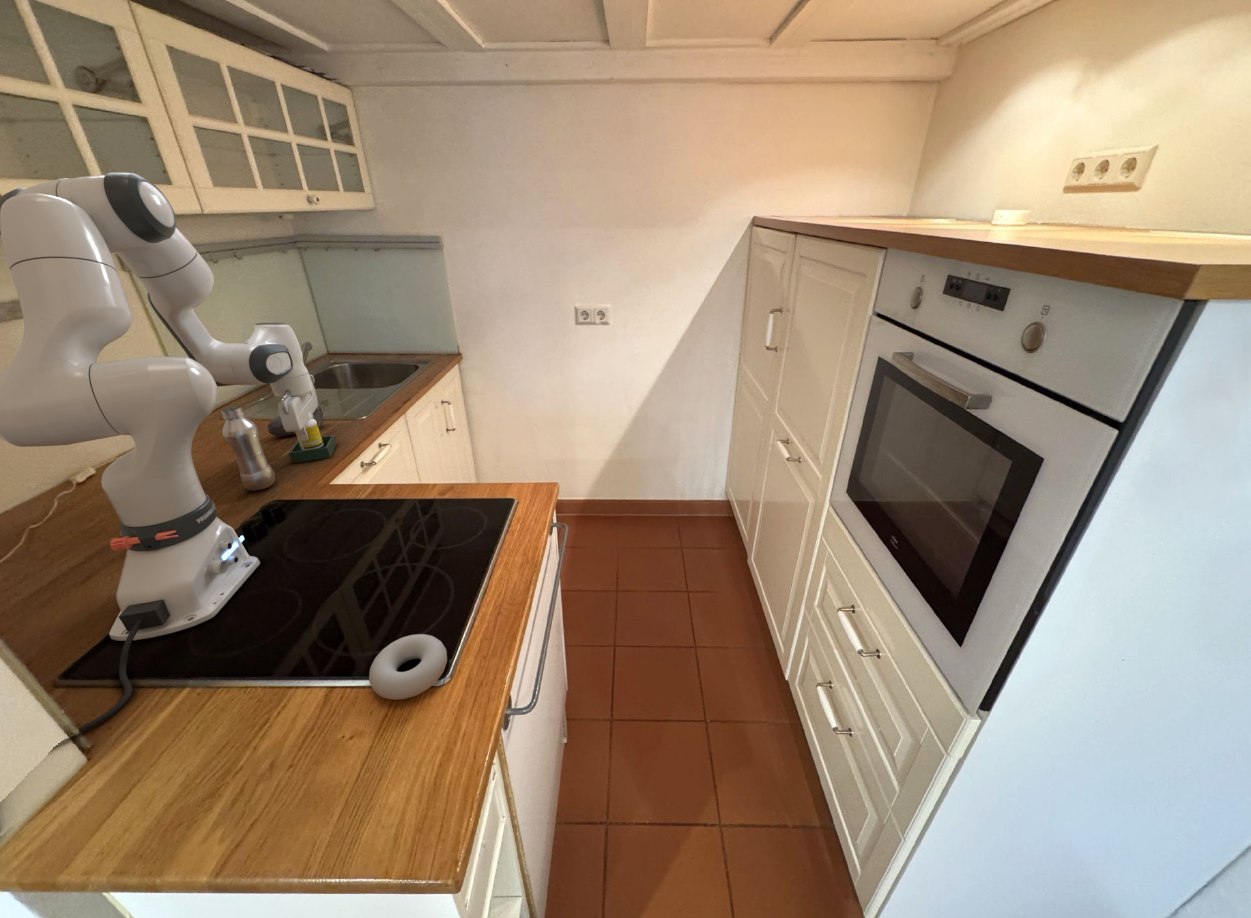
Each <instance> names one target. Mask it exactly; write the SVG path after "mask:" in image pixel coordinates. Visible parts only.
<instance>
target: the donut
mask: <svg viewBox="0 0 1251 918" xmlns="http://www.w3.org/2000/svg"><path fill="white" fill-rule="evenodd" d="M447 654H448V652H447V648H446V647H445V645H444V644H443V642H442V641H441V640H440V639H438V638H437V637H435V636H433V635H430V634H425V633H421V634H420V633H417V634H410V635H407V636H403V637H400V638H398V639H396V640H394V641H392V642H391V643H390V644H388V645H387V646H385V647H384V648H382V650H381V651H380V652H379V653H378V654H377V655H376V656H375V658H374V659H373V661H372V663H371V665H370V668H369V675H368V682H369V684H370V686H371V689H372V690H373V692H374V693H375V694H377V695H378V696H380V697H381V698H383V699H387V700H391V701H398V700H407V699H409V698H413V697H416V696H418V695H420V694H422V693H424V692H426V691H427V690H428V689H430V688H432V686H433V685H434V684H436V683H437V682H438V681H439V679H440V678H441V677H442V675H443V673H444V671H445V669H446V666H447V663H448V655H447ZM412 660H420V662H419V663H418V664H417V665H416V666H415V667H413V668H412V669H409V670H406V671H398V669H399V668H400V667H401V666H402V665H403V664H405V663H407V662H409V661H412Z"/></svg>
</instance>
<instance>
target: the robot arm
mask: <svg viewBox="0 0 1251 918" xmlns="http://www.w3.org/2000/svg"><path fill="white" fill-rule="evenodd" d="M0 235H1V240H2V248H3V251H4V256H5V259H6V263H7V266H8V269H9V272H10V275H11V278H12V281H13V284H14V287H15V291H16V294H17V296H18V301H19V305H20V310H21V314H22V318H23V319H22V320H23V335H22V340H21V343H20V345H19V349H18V351H17V352H16V355H15V356H14V358H13V360H12V361H11V362H10V364H9V365H8V366H7V368H5V369H4V370H3V371H2V372H1V373H0V440H2V441H4V442H6V443H8V444H10V445H13V446H16V447H19V448H24V447H25V448H29V447H30V448H31V447H56V446H58V447H59V446H68V445H69V446H70V445H75V444H80V443H86V442H91V441H96V440H102V439H107V438H108V439H109V438H112V437H118V436H130V437H131V438H132V440H133V442H134V445H135V447H133V448H132V449H131V450H129V451H128V452H126V453H124V454H123V455H121V456H119V457H118V458H117V459H115V460H114V461H113V462H111V463H110V464H109V465H108V466H107V467H106V468H105V469H104V471H103V472H102V475H101V479H100V480H101V481H100V482H101V488H102V490H103V491H104V494H105V495H106V498H108V501H109V502H110V504H111V506H112V508H113V509H114V511H115V513H116V515H117V516H118V518H119V528H120V532H119V533H120V537H114V538H113V537H112V538H111V539H110V541H109V546H110V549H111V550H112V551H114V552H118V551H122V550H126V552H125V556H124V557H125V558H124V561H123V564H122V568H121V572H120V576H119V581H118V584H117V589H116V592H115V599H116V602H117V605H118V607H119V613H118V614H117V616H116V618H115V621H114V623H113V624H112V626H111V628H110V630H109V632H108V635H109V637H110V639H111V640H112V641H117V642H119V641H120V642H124V644H123V645H122V649H121V653H120V656H119V668H118V677H119V681H120V684H121V685H122V687H123V689H124V693H123V695H122V697H121V698H120V699H119V701H118V702H117V703H116V704H114V705H113V706H112V707H111V708H110V709H108V710H107V711H106V712H104V713H103V714H102V715H101V714H100V715H99V716H98V717H96V718H94V719H92V720H90V721H89V722H87V723H84V724H83V725H80V726H79V727H77V728H78V729H79V732H81V733H84V732H85V731H87V730H90V729H91V728H94V727H95V726H97V725H99V724H101V723H102V722H104V721H106V720H108V719H109V718H111V716H113V715H114V714H116V713H117V712H118V711H119V710H120V709H121V708H122V707H123V706H124V705H125V704H126V703H127V702H128V701H129V699H130V698H131V696H132V694H133V689H134V688H133V685H132V683H131V681H130V679H129V677H128V673H127V667H128V657H129V651H130V648H131V646H132V643H133V641H139V640H146V639H150V638H155V637H160V636H164V635H168V634H172V633H177V632H180V631H184V630H186V629H190V628H193V627H195V626H197V625H200V624H202V623H204V622H207V621H209V620H211V619H213V618H214V617H215V616H216V615H217V614H218V613H219V612H220V611H221V610H222V609H223V608H224V606H225V605H226V604H227V603H228V601H229V600H230V599H232V597H233V596H234V595H235V593H237V591H238V590H239V589H240V588H241V587H242V586H243V584H245V582H246V581H247V579H248V578H249V577H250V576H251V575H252V574H253V573H254V571H255V570H256V569H257V568H259V566H260V565H261V561H260V559H259V558H258V557H257V556H254V555H250V554H249V553H248V552H247V550H246V548H245V546H244V545H243V541H245V537H244V535H240V537H239V536H238V534H237V533H236V531H235V529H234V528H233V527H232V526H231V525H229V524H227V523H226V522H225V521H223V520H221V519H220V517H218V510H217V509H216V505H215V502H214V501H213V499H211V497H210V495H208V494H207V493H205V491H204V488H203V487H202V484H201V481H200V478H199V476H198V473H197V471H196V467H195V463H194V461H193V457H192V446H193V440H194V437H195V435H196V432H197V431H198V428H199V427H200V426H201V424H202V423H203V421H205V420H206V419H207V417H209V416H210V415H211V413H212V412H213V411H214V409H215V407H216V405H217V402H218V399H219V389H218V387H230V386H253V385H255V386H256V385H260V386H261V385H270V388H271V391H272V393H273V396H274V397H276V398H280V400H279V402H278V403H277V409H278V414H279V416H280V418H281V421H282V425H283V428H284V429H285V431H286V432H295V431H296V432H297V434H298V435H299V437H300V440H301V441H307V440H308V439H309V434H308V432H306V430H305V424H306V423H307V421H308V420H309V412H310V413H311V415H312V418H311V419H314V417H313V413H314V411H315V410H316V408H317V407H318V406H319V400H318V396H317V392H316V387H315V385H314V384H315V378H314V375H313V374H310V373H309V370H308V369H307V367H306V365H305V363H304V355H303V351H302V348H301V345H300V342H299V340H298V337H297V335H296V333H295V331H294V329H293V328H292V326H291V325H290V324H288V323H285V322H257V323H255V324H253V326H252V327H253V332H252V334H251V335H250V337H249V338H248V339H247V340H245V341H243V343H242V342H240V343H239V342H237V343H235V342H234V343H232V342H231V343H227V342H224V341H220V340H217V339H215V338H214V337H212V335H211V334H210V333H209V331H208V329H207V328H206V327H205V325H204V324H203V322H202V321H201V319H200V318H199V317H198V315H197V314H196V312H195V310H194V308H197V307H198V306H200V305H201V304H202V303H204V302H205V301H206V300H207V299H208V298H209V297H210V295H211V294H212V292H213V290H214V286H215V276H214V274H213V271H212V269H211V268H210V266H209V264H208V263H207V261H206V260H205V259H204V257H202V255H201V254H200V253H199V252H198V250H197V249H196V247H194V246H193V244H192V243H191V242H190V241H189V239H188V238H187V237H186V236H185V235H184V234H183V233H182V232H181V231H180V229H178V228H177V216H176V213H175V210H174V208H173V207H172V205H171V203H170V201H169V200H168V198H167V197H166V196H165V194H164V193H163V192H162V191H161V190H160V188H159V187H157V185H156V184H154V183H153V182H151V181H150V180H148V179H146V178H144V177H143V176H141V175H139V174H137V173H135V172H134V173H133V172H121V171H120V172H119V171H117V172H107V173H106V174H103V175H102V174H100V175H99V174H97V175H87V176H86V175H85V176H78V177H72V178H68V177H61V178H58V179H54V180H49V181H46V182H42V183H38V184H35V185H32V186H28V187H17V188H15V189H12V190H10V191H8V192H6V193H4V194H2V195H1V196H0ZM112 253H113V254H114V253H115V254H117V256H118V257H119V258H120V259H121V260H122V262H123V263H124V264H125V265H126V267H128V268H129V270H130V271H131V272H132V273H133V274H134V275H135V276H136V278H137V279H139V281H140V282H141V283H142V284H143V286H144V287H145V289H146V291H147V300H148V303H149V305H150V306H151V309H152V310H153V311H154V313H155V314H156V316H157V317H158V319H159V320H160V322H162V325H164V327H165V328H166V329H167V331H168V332H169V333H170V334H171V335H172V337H173V338H174V340H175V341H176V342H177V343H178V344H179V346H180V347H181V348H182V350H183V351H184V352H185V354H186V356H165V355H164V356H161V355H160V356H159V355H158V356H157V355H152V356H151V355H149V356H144V357H143V356H141V357H133V358H125V359H119V360H118V359H117V360H109V361H103V362H97V360H98V357H99V355H100V353H102V351H103V349H105V348H106V347H107V346H109V344H111V343H113V342H115V341H117V340H119V339H120V338H121V337H124V335H125V334H126V333H127V332H128V331H129V329H130V328H131V326H132V323H133V317H134V316H133V312H132V309H131V306H130V303H129V301H128V298H127V295H126V294H127V293H126V292H125V288H124V286H123V282H122V279H121V277H120V274H119V270H118V268H117V265H116V263H115V260H114V257H113V255H112Z"/></svg>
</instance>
